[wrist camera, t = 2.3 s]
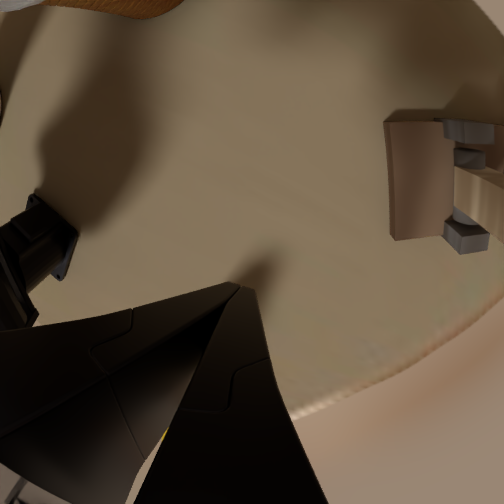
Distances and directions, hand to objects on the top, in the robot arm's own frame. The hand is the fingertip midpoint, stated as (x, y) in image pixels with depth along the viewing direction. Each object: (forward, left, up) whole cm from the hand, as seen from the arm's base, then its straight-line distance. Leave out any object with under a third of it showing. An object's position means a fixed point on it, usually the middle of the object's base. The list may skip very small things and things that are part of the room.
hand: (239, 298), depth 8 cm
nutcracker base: (+11, -10, -11) cm, 19 cm away
